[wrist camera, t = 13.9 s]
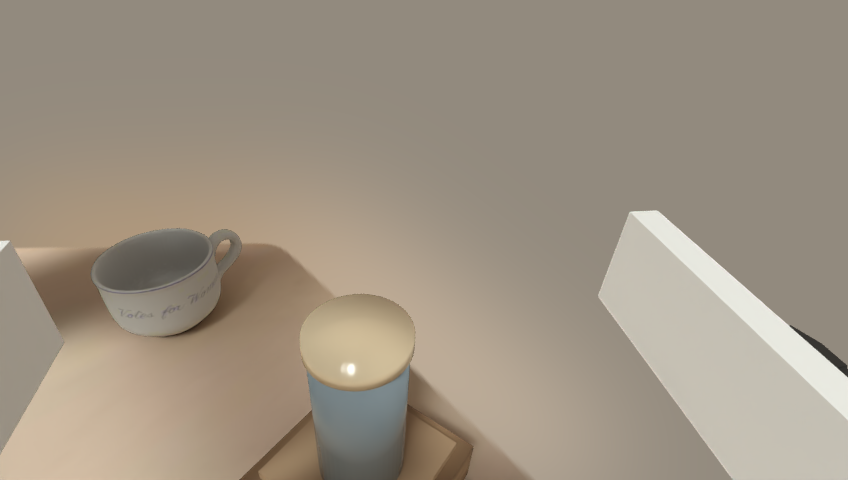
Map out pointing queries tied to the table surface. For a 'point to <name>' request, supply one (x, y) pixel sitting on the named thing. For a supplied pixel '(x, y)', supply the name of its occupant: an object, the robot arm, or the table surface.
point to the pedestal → (422, 467)
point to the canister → (358, 385)
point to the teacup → (163, 279)
